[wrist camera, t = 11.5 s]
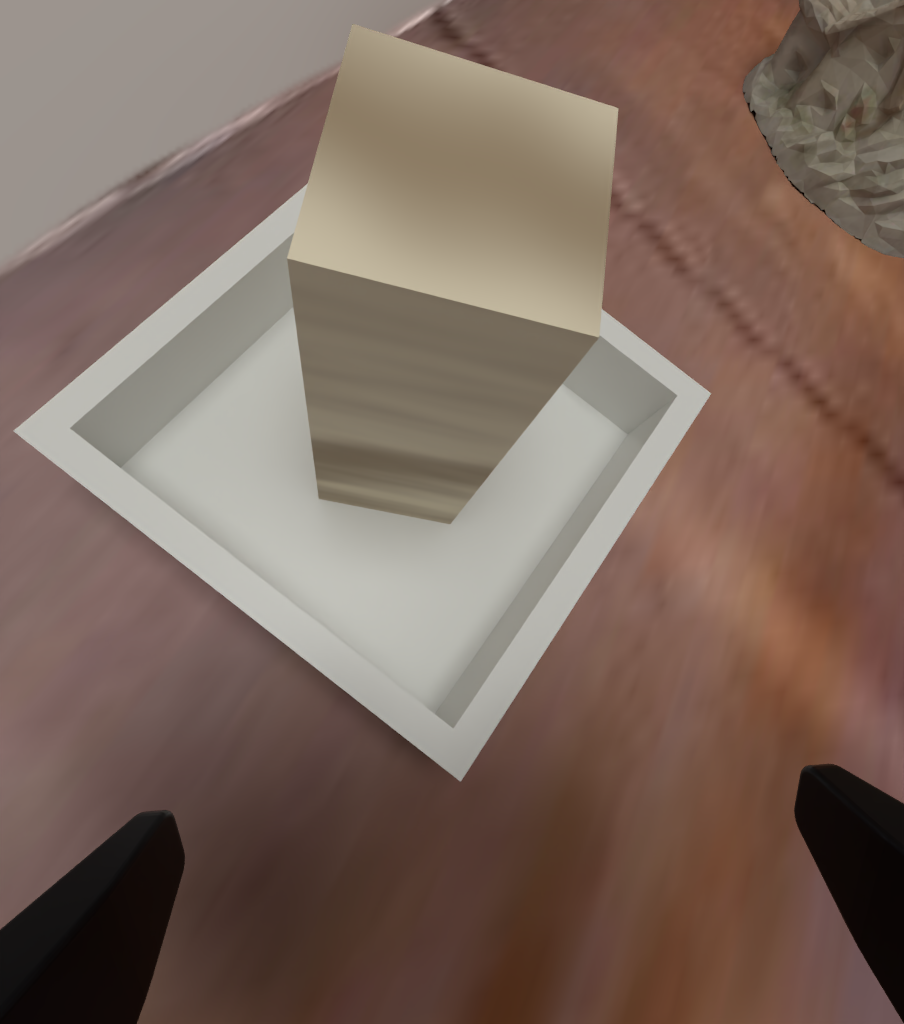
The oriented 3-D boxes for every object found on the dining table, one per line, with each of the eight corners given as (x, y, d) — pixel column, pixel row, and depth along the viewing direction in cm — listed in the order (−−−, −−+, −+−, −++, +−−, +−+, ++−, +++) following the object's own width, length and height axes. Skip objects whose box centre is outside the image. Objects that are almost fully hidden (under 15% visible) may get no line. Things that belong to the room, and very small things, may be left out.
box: (434, 756, 20) (460, 781, 16) (83, 480, 20) (13, 431, 16) (647, 439, 25) (711, 393, 21) (366, 220, 25) (371, 130, 21)
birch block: (450, 524, 21) (599, 337, 9) (318, 499, 21) (287, 258, 8) (468, 407, 23) (618, 108, 10) (345, 379, 22) (352, 23, 10)
